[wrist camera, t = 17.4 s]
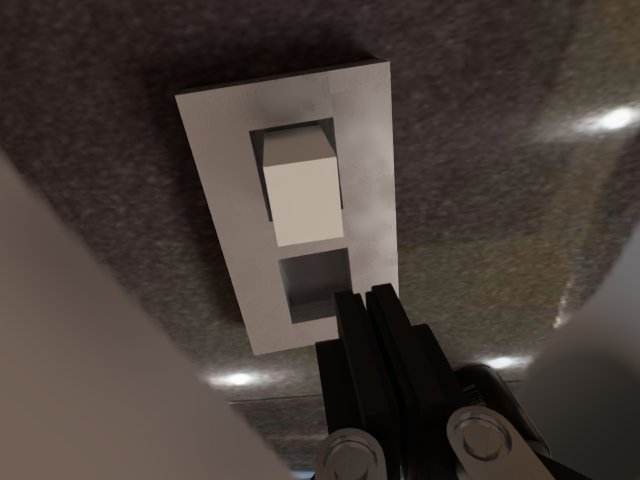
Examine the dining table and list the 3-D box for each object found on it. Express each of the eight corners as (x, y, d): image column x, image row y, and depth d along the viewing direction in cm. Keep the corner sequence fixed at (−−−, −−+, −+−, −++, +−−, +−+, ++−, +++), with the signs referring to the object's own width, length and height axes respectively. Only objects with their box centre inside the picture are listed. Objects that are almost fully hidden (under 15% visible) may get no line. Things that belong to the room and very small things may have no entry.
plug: (264, 132, 25) (263, 167, 19) (319, 124, 25) (336, 156, 19) (275, 196, 27) (278, 246, 21) (326, 189, 27) (343, 236, 21)
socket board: (185, 87, 24) (174, 95, 21) (376, 57, 24) (389, 61, 21) (255, 329, 33) (254, 355, 31) (389, 305, 34) (400, 328, 31)
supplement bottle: (439, 413, 42) (495, 540, 32) (434, 372, 39) (495, 498, 29) (499, 398, 42) (575, 519, 32) (500, 355, 39) (585, 476, 29)
